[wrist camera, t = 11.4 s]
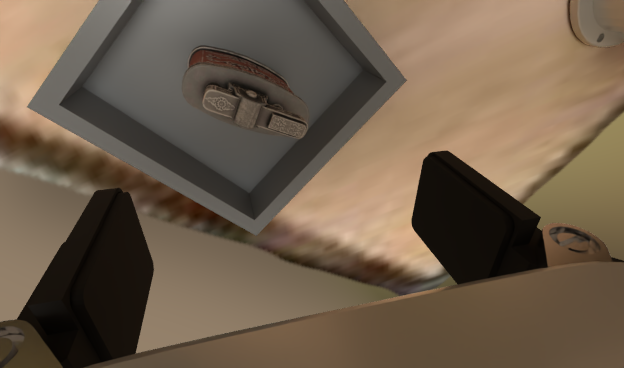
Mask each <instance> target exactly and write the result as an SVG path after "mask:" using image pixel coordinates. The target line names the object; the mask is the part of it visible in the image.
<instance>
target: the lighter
mask: <svg viewBox="0 0 624 368" xmlns="http://www.w3.org/2000/svg"><path fill="white" fill-rule="evenodd" d="M181 89H182V93H183V96H184V98H185V100H186V101H187V103H189V104H190V105H191V106H192V107H194V108H196V109H198V110H200V111H202V112H204V113H206V114H208V115H210V116H212V117H214V118H215V119H218V120H220V121H223V122H225V123H228V124H231V125H233V126H236V127H238V128H241V129H245V130H249V131H253V132H258V133H262V134H267V135H275V136H283V137H293V138H297V139H300V138H303V137H304V136H305V134H306V132H307V129H308V122H309V118H310V114H309V109H308V106H307V105H306V103H305V102H304V101H303V100H302V99H301V98H299V97H298V96H296V95H295V94H294V93H293V92H292V91H291V89H290V88H289V85H288V82H287V81H286V79H285V78H284V77H283V76H282V75H280V74H279V73H277V72H275V71H274V70H272V69H271V68H269V67H268V66H266V65H264V64H262V63H260V62H258V61H256V60H254V59H252V58H250V57H248V56H245V55H242V54H239V53H236V52H233V51H230V50H227V49H222V48H217V47H212V46H207V45H200V46H198V47H196V48H194V49H193V50H192V51H191V53H190V55H189V58H188V69H187V70H186V72H185V74H184V76H183V79H182V88H181Z"/></svg>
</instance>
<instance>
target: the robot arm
mask: <svg viewBox="0 0 624 368" xmlns="http://www.w3.org/2000/svg"><path fill="white" fill-rule="evenodd" d="M570 20H571V24H572V29H573V31H574V33H575V34H576V36H577V37H578V38H579V39H580V40H581V41H582V42H583V43H585V44H587V45H589V46H595V47H612V46H616V45H619V44H622V43H624V0H571V1H570ZM540 218H541V217H540V216H538V215H537V214H535V213H534V212H533V211H531V210H530V209H529V208H527V207H526V206H524V205H523V204H522V203H520V202H519V201H517V200H516V199H515V198H513V197H512V196H510V195H509V194H508V193H506V192H505V191H503V190H502V189H501V188H499V187H498V186H496V185H495V184H494V183H492V182H491V181H489V180H488V179H487V178H485V177H484V176H483V175H481V174H480V173H478V172H477V171H476V170H474V169H473V168H471V167H470V166H469V165H467V164H466V163H464V162H463V161H462V160H460V159H459V158H457V157H456V156H455V155H453V154H452V153H450V152H449V151H439V152H431V153H429V155H428V156H427V157H426V158H425V159H424V160H423V164H422V170H421V175H420V180H419V185H418V190H417V195H416V200H415V205H414V210H413V216H412V227H413V229H414V231H415V232H416V233H417V234H418V236H419V237H420V238H421V239H422V241H423V242H424V243H425V244H426V246H427V247H428V248H429V249H430V251H431V252H432V253H433V254H434V255H435V257H436V258H437V259H438V260H439V262H440V263H441V264H442V265H443V267H444V268H445V269H446V270H447V272H448V273H449V274H450V275H451V277H452V278H453V279H454V280H455V282H456V283H457V284H458V285H453V286H448V287H443V288H438V289H433V290H428V291H423V292H418V293H413V294H409V295H404V296H399V297H395V298H390V299H385V300H380V301H375V302H370V303H365V304H361V305H356V306H351V307H347V308H342V309H337V310H332V311H327V312H323V313H318V314H313V315H309V316H304V317H300V318H294V319H290V320H285V321H280V322H276V323H271V324H266V325H262V326H257V327H253V328H248V329H243V330H239V331H234V332H229V333H225V334H220V335H215V336H211V337H206V338H202V339H197V340H193V341H189V342H184V343H180V344H175V345H171V346H167V347H162V348H158V349H153V350H150V351H145V352H141V353H136V349H137V344H138V339H139V335H140V331H141V326H142V322H143V318H144V313H145V309H146V304H147V300H148V295H149V290H150V286H151V281H152V277H153V271H154V268H153V261H152V258H151V255H150V252H149V249H148V246H147V243H146V240H145V237H144V234H143V231H142V228H141V225H140V223H139V219H138V216H137V213H136V210H135V207H134V204H133V201H132V198H131V196H130V194H129V193H128V192H124V193H123V192H122V190H121V189H120V188H115V189H106V190H98V191H96V192H95V193H94V195H93V196H92V198H91V200H90V201H89V203H88V205H87V206H86V208H85V210H84V212H83V213H82V215H81V217H80V219H79V220H78V222H77V223H76V225H75V227H74V228H73V230H72V232H71V233H70V235H69V237H68V238H67V240H66V242H64V243H63V244H62V245H61V247H60V248H59V250H58V252H57V254H56V255H55V257H54V258H53V260H52V262H51V263H50V265H49V267H48V269H47V270H46V272H45V273H44V275H43V277H42V278H41V280H40V282H39V284H38V285H37V287H36V288H35V290H34V292H33V293H32V295H31V297H30V299H29V300H28V302H27V303H26V305H25V307H24V308H23V310H22V312H21V313H20V315H19V317H18V318H17V320H8V321H3V322H0V368H624V261H622V260H619V259H615V258H612V257H611V256H610V253H609V251H608V248H607V247H606V245H605V244H604V242H603V241H601V240H600V239H599V238H598V237H597V236H595V235H593V234H592V233H590V232H588V231H586V230H584V229H581V228H579V227H576V226H573V225H568V224H562V223H552V224H548V225H546V226H545V227H543V229H542V231H541V230H540V229H538V228H537V225H538V223H539V220H540ZM135 353H136V354H135Z"/></svg>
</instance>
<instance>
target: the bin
mask: <svg viewBox="0 0 624 368" xmlns="http://www.w3.org/2000/svg"><path fill="white" fill-rule="evenodd" d="M200 45H207V46H212V47H217V48H222V49H227V50H230V51H233V52H236V53H239V54H242V55H245V56H248V57H250V58H252V59H254V60H256V61H258V62H260V63H262V64H264V65H266V66H268V67H269V68H271V69H272V70H274V71H275V72H277V73H279V74H280V75H282V76H283V77H284V78H285V79H286V81H287V82H288V85H289V88H290V89H291V91H292V92H293V93H294V94H295V95H296V96H298V97H299V98H301V99H302V100H303V101H304V102H305V103H306V105H307V106H308V109H309V114H310V118H309V122H308V129H307V132H306V134H305V136H304V137H303V138H300V139H297V138H293V137H283V136H275V135H267V134H262V133H258V132H253V131H249V130H245V129H241V128H238V127H236V126H233V125H231V124H228V123H225V122H223V121H220V120H218V119H215V118H214V117H212V116H210V115H208V114H206V113H204V112H202V111H200V110H198V109H196V108H194V107H192V106H191V105H190V104H189V103H187V101H186V100H185V98H184V96H183V93H182V89H181V88H182V79H183V76H184V74H185V72H186V70H187V69H188V58H189V55H190V53H191V51H192V50H193V49H194V48H196V47H198V46H200ZM406 81H407V80H406V79H405V78H404V76H403V75H402V74H401V73H400V71H399V70H398V69H397V67H396V66H395V65H394V64H393V62H392V61H391V60H390V59H389V57H388V56H387V55H386V54H385V52H384V51H383V50H382V48H381V47H380V46H379V45H378V43H377V42H376V41H375V40H374V38H373V37H372V36H371V35H370V33H369V32H368V31H367V29H366V28H365V27H364V26H363V24H362V23H361V22H360V21H359V19H358V18H357V17H356V16H355V14H354V13H353V12H352V10H351V9H350V8H349V7H348V5H347V4H346V3H345V2H344V0H99V1H98V3H97V4H96V6H95V7H94V8H93V10H92V11H91V13H90V14H89V16H88V17H87V19H86V20H85V22H84V23H83V25H82V26H81V28H80V29H79V31H78V32H77V34H76V35H75V37H74V38H73V40H72V41H71V42H70V44H69V45H68V47H67V48H66V50H65V51H64V53H63V54H62V56H61V57H60V59H59V60H58V62H57V63H56V65H55V66H54V68H53V69H52V71H51V72H50V74H49V75H48V77H47V78H46V79H45V81H44V82H43V84H42V85H41V87H40V88H39V90H38V91H37V93H36V94H35V96H34V97H33V99H32V100H31V102H30V103H29V105H28V106H27V107H28V108H30V109H31V110H33V111H35V112H37V113H38V114H40V115H42V116H44V117H46V118H47V119H49V120H51V121H53V122H55V123H56V124H58V125H60V126H62V127H63V128H65V129H67V130H69V131H71V132H72V133H74V134H76V135H78V136H80V137H81V138H83V139H85V140H87V141H88V142H90V143H92V144H94V145H96V146H97V147H99V148H101V149H103V150H104V151H106V152H108V153H110V154H112V155H113V156H115V157H117V158H119V159H121V160H122V161H124V162H126V163H128V164H129V165H131V166H133V167H135V168H137V169H138V170H140V171H142V172H144V173H146V174H147V175H149V176H151V177H153V178H154V179H156V180H158V181H160V182H162V183H163V184H165V185H167V186H169V187H170V188H172V189H174V190H176V191H178V192H179V193H181V194H183V195H185V196H187V197H188V198H190V199H192V200H194V201H195V202H197V203H199V204H201V205H203V206H204V207H206V208H208V209H210V210H212V211H213V212H215V213H217V214H219V215H220V216H222V217H224V218H226V219H228V220H229V221H231V222H233V223H235V224H237V225H238V226H240V227H242V228H244V229H245V230H247V231H249V232H251V233H253V234H254V235H256V236H257V235H258V233H259V232H260V231H261V230H262V229H263V228H264V227H265V226H266V225H267V224H268V223H269V222H270V221H271V220H272V219H273V218H274V217H275V216H276V215H277V214H278V213H279V212H280V211H281V210H282V209H283V208H284V207H285V206H286V205H287V204H288V202H289V201H290V200H291V199H292V198H293V197H294V196H295V195H296V194H297V193H298V192H299V191H300V190H301V189H302V188H303V187H304V186H305V185H306V184H307V183H308V182H309V181H310V180H311V179H312V178H313V177H314V176H315V175H316V174H317V173H318V171H319V170H320V169H321V168H322V167H323V166H324V165H325V164H326V163H327V162H328V161H329V160H330V159H331V158H332V157H333V156H334V155H335V154H336V153H337V152H338V151H339V150H340V149H341V148H342V147H343V146H344V145H345V144H346V143H347V142H348V140H349V139H350V138H351V137H352V136H353V135H354V134H355V133H356V132H357V131H358V130H359V129H360V128H361V127H362V126H363V125H364V124H365V123H366V122H367V121H368V120H369V119H370V118H371V117H372V116H373V115H374V114H375V113H376V112H377V111H378V109H379V108H380V107H381V106H382V105H383V104H384V103H385V102H386V101H387V100H388V99H389V98H390V97H391V96H392V95H393V94H394V93H395V92H396V91H397V90H398V89H399V88H400V87H401V86H402V85H403V84H404V83H405V82H406Z"/></svg>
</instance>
